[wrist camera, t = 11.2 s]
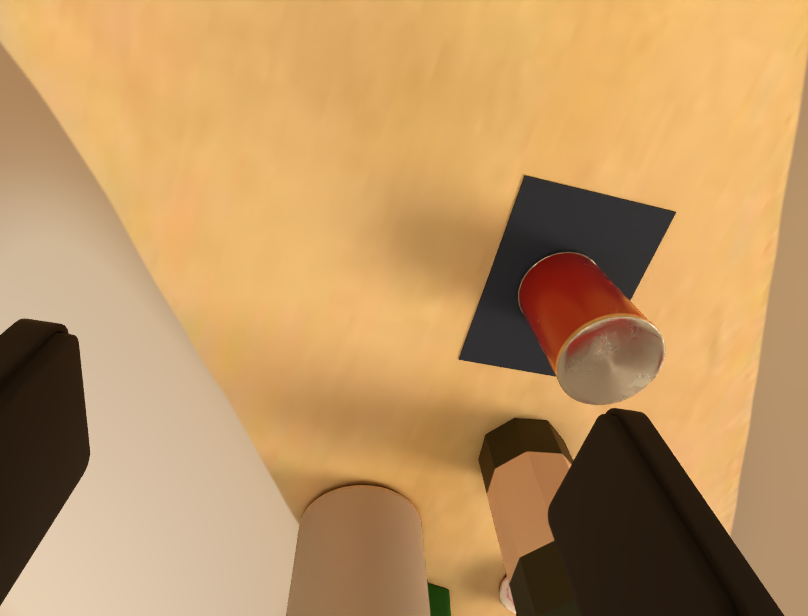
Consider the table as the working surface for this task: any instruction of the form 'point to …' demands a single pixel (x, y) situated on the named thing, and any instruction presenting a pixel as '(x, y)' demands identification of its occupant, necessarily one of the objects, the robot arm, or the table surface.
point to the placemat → (549, 232)
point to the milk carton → (438, 601)
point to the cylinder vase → (359, 556)
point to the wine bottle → (528, 512)
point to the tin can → (589, 329)
